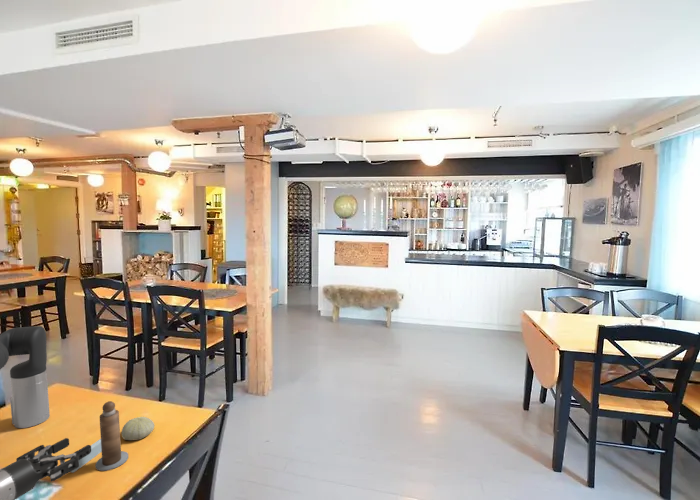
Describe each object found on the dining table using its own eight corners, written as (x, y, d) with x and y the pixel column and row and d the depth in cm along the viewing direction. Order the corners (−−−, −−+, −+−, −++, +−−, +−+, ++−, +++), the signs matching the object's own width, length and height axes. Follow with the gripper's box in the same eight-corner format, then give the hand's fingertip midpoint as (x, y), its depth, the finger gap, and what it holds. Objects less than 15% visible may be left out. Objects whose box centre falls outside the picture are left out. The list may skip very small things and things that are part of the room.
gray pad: (88, 468, 101) (88, 467, 101) (111, 450, 109) (111, 449, 109) (113, 472, 100) (113, 471, 100) (134, 453, 108) (134, 452, 108)
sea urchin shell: (142, 439, 112) (125, 419, 113) (127, 453, 114) (111, 434, 114) (162, 422, 121) (147, 404, 122) (149, 436, 123) (133, 418, 123)
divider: (68, 471, 100) (68, 461, 100) (104, 445, 112) (104, 436, 112) (73, 472, 100) (72, 462, 100) (109, 445, 112) (108, 436, 111)
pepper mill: (98, 464, 103) (94, 405, 101) (111, 454, 107) (108, 397, 105) (112, 466, 102) (108, 406, 100) (125, 455, 106) (121, 398, 105)
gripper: (22, 478, 77) (97, 436, 93) (-18, 463, 82) (60, 425, 97) (24, 511, 78) (98, 464, 93) (-15, 494, 83) (61, 452, 98)
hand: (79, 444), depth 95 cm, fingers open, 8 cm apart
